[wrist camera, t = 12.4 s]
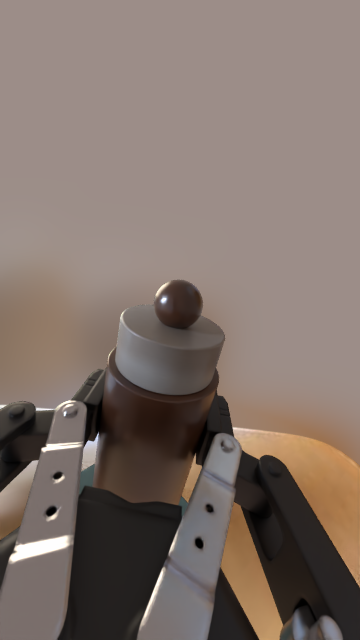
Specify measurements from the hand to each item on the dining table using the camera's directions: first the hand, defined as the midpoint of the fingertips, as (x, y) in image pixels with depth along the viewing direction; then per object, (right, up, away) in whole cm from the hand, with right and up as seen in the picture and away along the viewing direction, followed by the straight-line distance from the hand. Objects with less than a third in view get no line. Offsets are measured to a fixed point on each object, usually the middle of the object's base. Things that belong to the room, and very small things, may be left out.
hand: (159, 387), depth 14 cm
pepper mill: (-2, -8, 0) cm, 8 cm away
